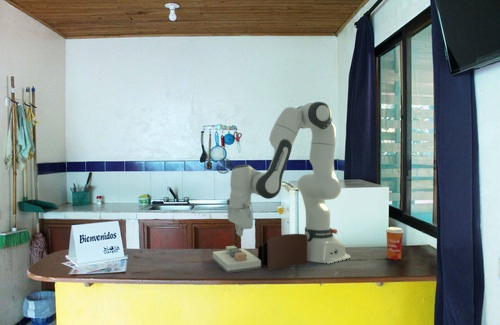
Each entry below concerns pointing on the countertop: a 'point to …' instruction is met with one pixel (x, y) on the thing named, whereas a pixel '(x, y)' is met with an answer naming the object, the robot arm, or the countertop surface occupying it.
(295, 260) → the letter holder
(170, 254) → the countertop surface
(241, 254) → the terracotta key
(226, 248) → the sage key
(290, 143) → the robot arm
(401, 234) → the paper cup
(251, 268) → the cream key base
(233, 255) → the charcoal key
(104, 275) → the countertop surface
